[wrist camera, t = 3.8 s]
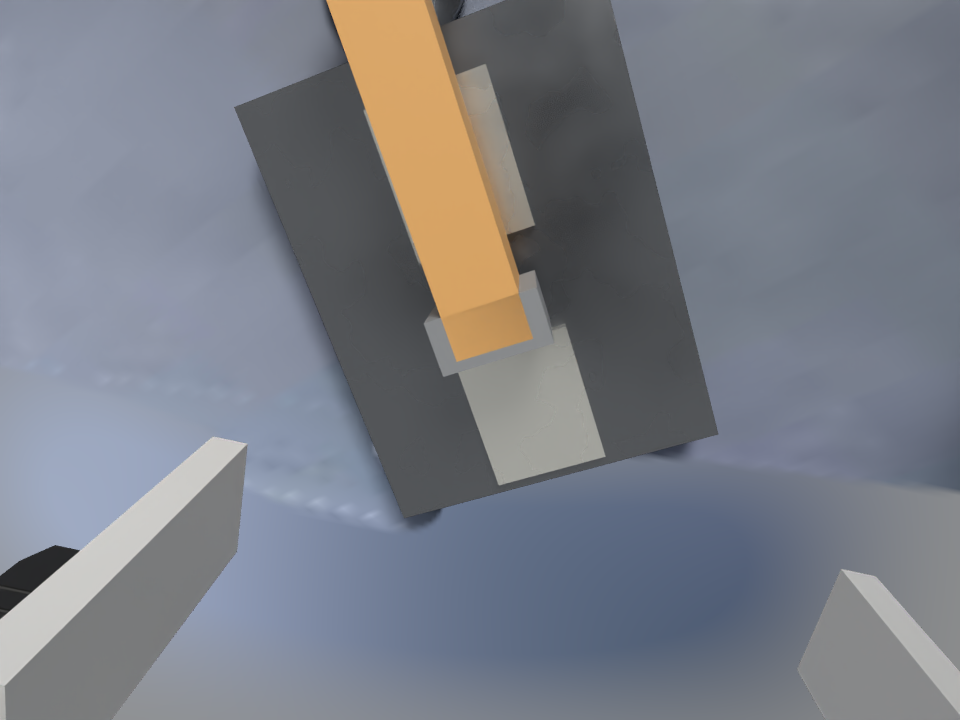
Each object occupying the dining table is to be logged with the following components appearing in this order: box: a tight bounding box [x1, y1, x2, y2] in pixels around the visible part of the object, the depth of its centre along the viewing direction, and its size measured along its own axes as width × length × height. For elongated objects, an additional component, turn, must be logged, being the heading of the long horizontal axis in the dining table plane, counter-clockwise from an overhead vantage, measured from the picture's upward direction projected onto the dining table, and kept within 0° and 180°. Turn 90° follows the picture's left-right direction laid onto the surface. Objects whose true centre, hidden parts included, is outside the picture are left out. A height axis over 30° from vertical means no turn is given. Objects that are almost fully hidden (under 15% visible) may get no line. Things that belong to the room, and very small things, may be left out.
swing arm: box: [326, 0, 554, 377], centre depth 17 cm, size 14×4×3 cm, turn 19°
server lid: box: [234, 0, 718, 518], centre depth 22 cm, size 16×12×3 cm
